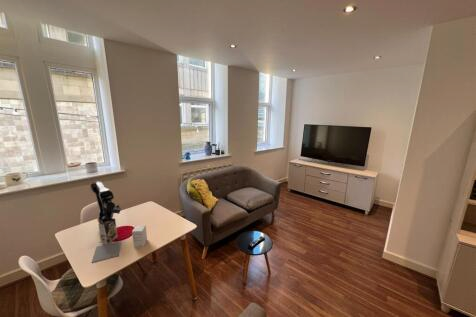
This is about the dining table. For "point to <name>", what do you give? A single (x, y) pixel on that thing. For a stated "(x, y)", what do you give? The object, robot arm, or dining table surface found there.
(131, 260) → the dining table surface
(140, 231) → the supplement box
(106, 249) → the mat
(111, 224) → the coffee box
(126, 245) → the dining table surface
